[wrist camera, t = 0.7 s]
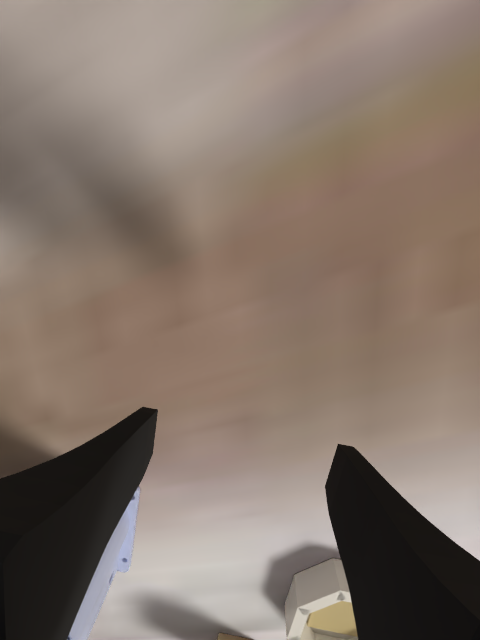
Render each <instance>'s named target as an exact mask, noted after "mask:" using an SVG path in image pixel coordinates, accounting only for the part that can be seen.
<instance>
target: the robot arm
mask: <svg viewBox="0 0 480 640" xmlns="http://www.w3.org/2000/svg"><path fill="white" fill-rule="evenodd" d="M157 412H158V410H157V409H152V408H146V407H142V408H140V409H139V410H137V411H136V412H134V413H133V414H131V415H130V416H128V417H127V418H125V419H124V420H122V421H121V422H119V423H118V424H116V425H115V426H113V427H111V428H110V429H108V430H107V431H105V432H104V433H102V434H100V435H98V436H97V437H95V438H93V439H92V440H90V441H88V442H86V443H85V444H83V445H81V446H79V447H77V448H75V449H73V450H71V451H69V452H67V453H65V454H63V455H61V456H58V457H56V458H54V459H52V460H50V461H47V462H45V463H42V464H39V465H37V466H34V467H32V468H29V469H27V470H24V471H22V472H19V473H16V474H13V475H10V476H7V477H4V478H1V479H0V640H87V639H88V637H89V634H90V632H91V630H92V627H93V625H94V623H95V620H96V618H97V616H98V613H99V611H100V609H101V606H102V604H103V602H104V599H105V597H106V595H107V592H108V590H109V588H110V585H111V583H112V581H113V578H114V576H115V574H116V571H120V572H127V571H129V568H130V565H131V558H132V550H133V542H134V534H135V526H136V519H137V511H138V503H139V495H140V488H139V487H138V486H139V484H140V482H141V480H142V478H143V476H144V474H145V471H146V469H147V467H148V464H149V461H150V459H151V456H152V454H153V446H154V438H155V429H156V421H157ZM325 489H326V497H327V504H328V511H329V516H330V520H331V523H332V527H333V531H334V535H335V539H336V542H337V546H338V550H339V553H340V557H341V561H342V564H343V568H344V572H345V575H346V579H347V583H348V587H349V592H350V596H351V602H352V607H353V613H354V618H355V624H356V630H357V636H358V640H480V561H479V560H478V559H476V558H475V557H474V556H472V555H471V554H470V553H468V552H467V551H465V550H464V549H463V548H461V547H460V546H459V545H457V544H456V543H455V542H454V541H452V540H451V539H450V538H449V537H447V536H446V535H445V534H444V533H442V532H441V531H440V530H439V529H438V528H436V527H435V526H434V525H433V524H432V523H430V522H429V521H428V520H427V519H426V518H425V517H424V516H422V515H421V514H420V513H419V512H418V511H417V510H416V509H415V508H414V507H413V506H412V505H411V504H409V503H408V502H407V501H406V500H405V499H404V498H403V497H402V496H401V495H400V494H399V493H398V492H397V491H396V490H395V489H394V488H393V487H392V486H391V485H390V484H389V483H388V482H387V481H386V480H385V479H384V478H383V477H382V476H381V475H380V474H379V473H378V471H377V470H376V469H375V468H374V467H373V466H372V465H371V464H370V463H369V462H368V461H367V460H366V459H365V458H364V457H363V456H362V455H361V454H360V453H359V452H358V451H357V450H356V449H355V448H354V447H351V446H346V445H341V444H338V446H337V449H336V452H335V456H334V459H333V462H332V465H331V469H330V472H329V475H328V479H327V482H326V485H325ZM133 495H134V496H133Z"/></svg>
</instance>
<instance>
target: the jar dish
mask: <svg viewBox="0 0 480 640" xmlns="http://www.w3.org/2000/svg"><path fill="white" fill-rule="evenodd" d="M285 620H286V635H287V640H358V636H357V630H356V624H355V618H354V613H353V607H352V602H351V596H350V592H349V587H348V583H347V579H346V575H345V572H344V568H343V564H342V561H341V560H339V559H334V558H332V559H330V560H327V561H325V562H323V563H320V564H318V565H316V566H313V567H311V568H309V569H306V570H304V571H302V572H299V573H297V574H294V577H293V580H292V583H291V586H290V589H289V593H288V596H287V599H286V602H285Z"/></svg>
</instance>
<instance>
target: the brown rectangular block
mask: <svg viewBox="0 0 480 640" xmlns="http://www.w3.org/2000/svg"><path fill="white" fill-rule="evenodd" d="M217 640H252V639H247V638H242V637H238V636H233V635H228V634H224V633H219V634H218V638H217Z"/></svg>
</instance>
